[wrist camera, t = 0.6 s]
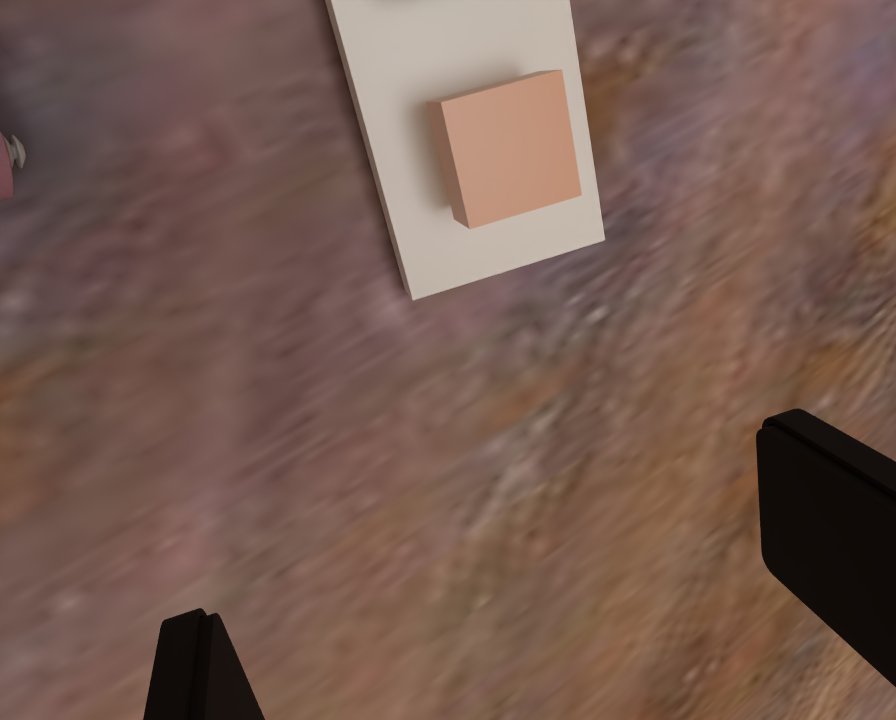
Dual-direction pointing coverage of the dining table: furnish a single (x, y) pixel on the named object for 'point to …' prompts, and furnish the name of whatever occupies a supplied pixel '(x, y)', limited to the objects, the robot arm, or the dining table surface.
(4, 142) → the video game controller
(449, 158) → the terracotta key
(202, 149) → the dining table surface
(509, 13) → the keypad base
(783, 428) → the robot arm
